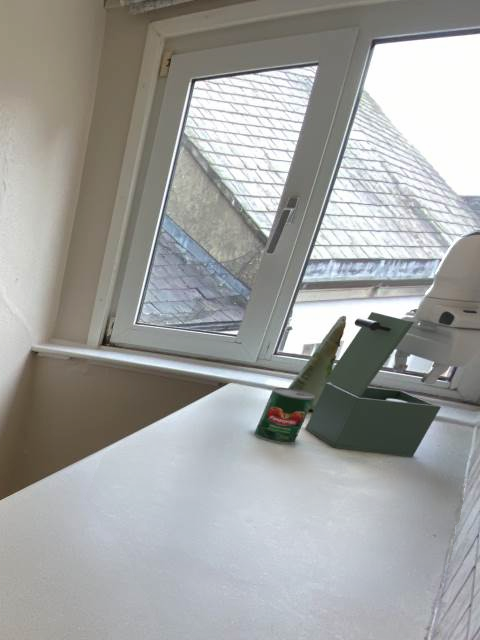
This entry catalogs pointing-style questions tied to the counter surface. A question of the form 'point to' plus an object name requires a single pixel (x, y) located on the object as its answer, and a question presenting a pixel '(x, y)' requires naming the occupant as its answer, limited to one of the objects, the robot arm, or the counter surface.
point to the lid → (368, 352)
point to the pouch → (320, 363)
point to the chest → (372, 420)
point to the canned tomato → (284, 415)
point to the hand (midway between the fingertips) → (412, 377)
